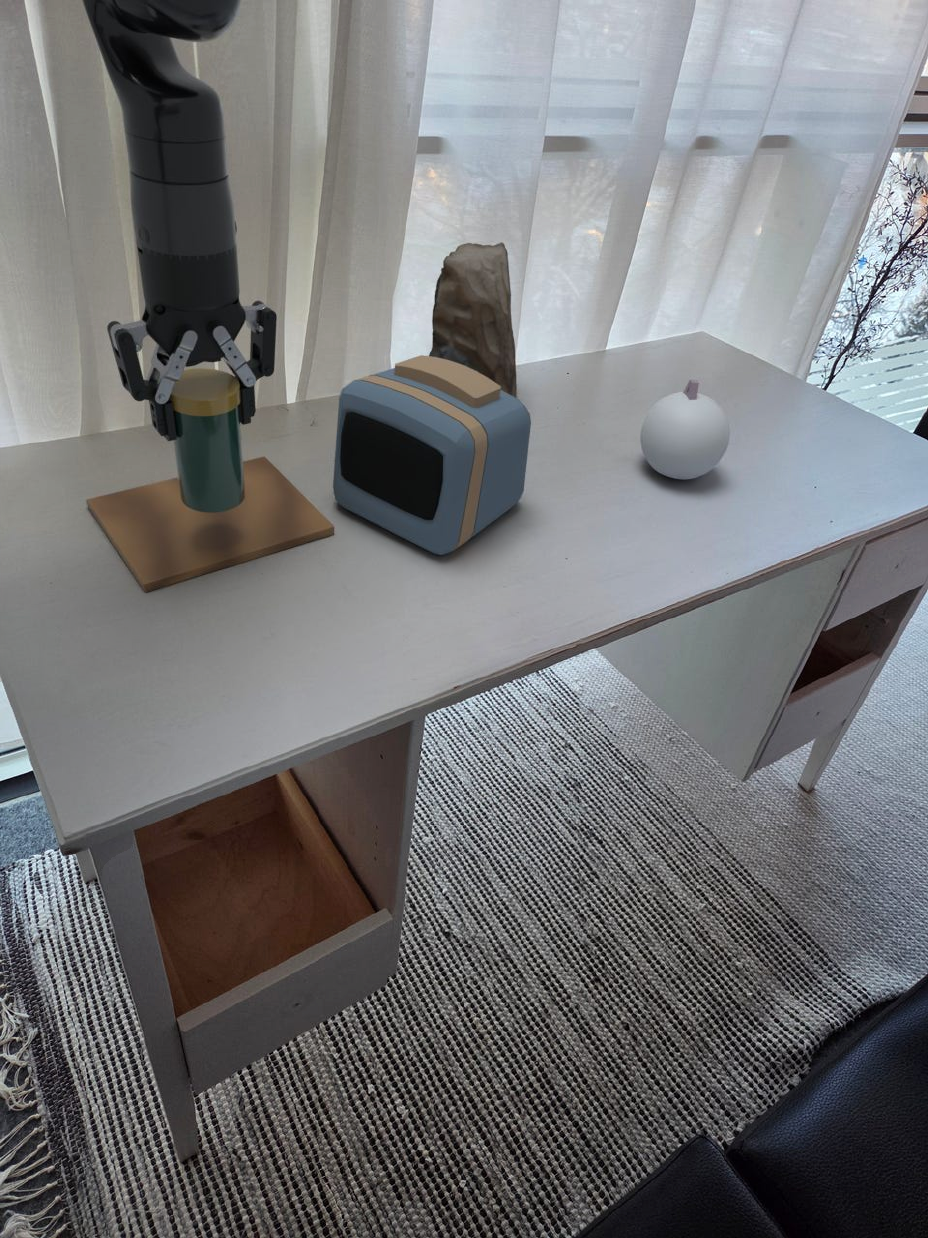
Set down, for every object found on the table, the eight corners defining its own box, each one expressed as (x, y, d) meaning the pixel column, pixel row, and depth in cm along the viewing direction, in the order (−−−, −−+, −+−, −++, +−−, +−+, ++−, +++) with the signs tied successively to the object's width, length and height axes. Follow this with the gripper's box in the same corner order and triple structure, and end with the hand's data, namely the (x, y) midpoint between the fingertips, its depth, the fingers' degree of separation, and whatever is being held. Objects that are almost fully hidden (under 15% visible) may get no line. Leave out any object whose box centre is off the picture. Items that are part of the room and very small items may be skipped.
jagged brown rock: (421, 426, 108) (434, 266, 95) (414, 382, 117) (424, 231, 104) (517, 430, 110) (542, 273, 97) (502, 387, 119) (524, 239, 106)
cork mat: (145, 592, 78) (143, 584, 77) (87, 507, 87) (85, 499, 86) (334, 534, 88) (334, 526, 87) (265, 463, 97) (264, 455, 96)
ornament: (616, 458, 107) (639, 369, 99) (678, 446, 111) (704, 360, 103) (667, 500, 100) (696, 408, 92) (730, 485, 104) (763, 396, 97)
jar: (194, 520, 77) (181, 406, 70) (167, 487, 81) (152, 375, 74) (258, 503, 80) (252, 392, 73) (230, 472, 84) (221, 363, 77)
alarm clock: (324, 506, 92) (323, 368, 81) (415, 452, 102) (424, 325, 92) (444, 568, 85) (460, 427, 75) (527, 504, 96) (551, 373, 86)
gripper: (250, 214, 71) (260, 396, 82) (75, 228, 64) (111, 426, 75) (292, 242, 67) (297, 430, 78) (109, 260, 60) (143, 466, 70)
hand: (206, 428), depth 76 cm, fingers closed on jar, 6 cm apart
